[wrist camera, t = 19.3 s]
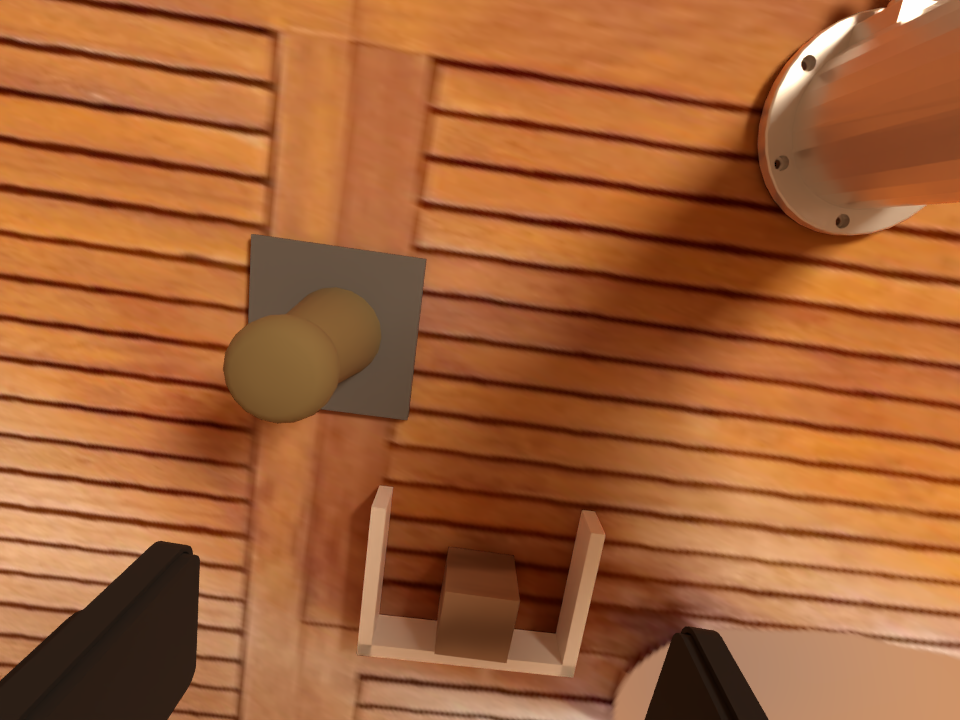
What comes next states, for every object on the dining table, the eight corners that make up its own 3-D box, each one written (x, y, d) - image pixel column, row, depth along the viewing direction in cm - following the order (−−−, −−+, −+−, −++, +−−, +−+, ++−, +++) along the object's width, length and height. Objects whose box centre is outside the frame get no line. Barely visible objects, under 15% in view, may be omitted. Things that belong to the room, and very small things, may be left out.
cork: (277, 356, 33) (184, 413, 22) (306, 272, 32) (222, 288, 21) (362, 390, 34) (312, 461, 23) (394, 309, 32) (356, 343, 22)
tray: (379, 485, 36) (371, 507, 33) (595, 511, 37) (605, 534, 34) (365, 623, 39) (356, 655, 36) (565, 645, 40) (573, 677, 37)
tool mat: (255, 234, 32) (251, 234, 31) (426, 259, 32) (425, 259, 32) (249, 396, 34) (245, 399, 34) (408, 417, 35) (407, 420, 34)
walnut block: (448, 545, 37) (445, 591, 33) (513, 554, 38) (520, 601, 33) (439, 601, 39) (434, 654, 34) (502, 610, 39) (506, 663, 34)
